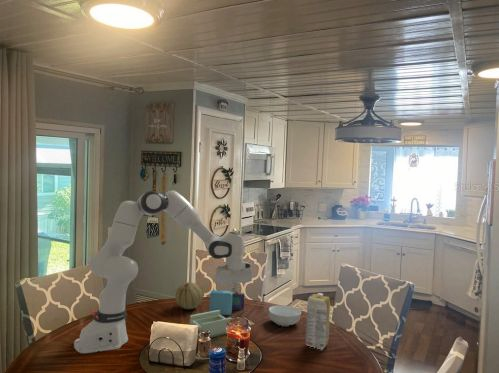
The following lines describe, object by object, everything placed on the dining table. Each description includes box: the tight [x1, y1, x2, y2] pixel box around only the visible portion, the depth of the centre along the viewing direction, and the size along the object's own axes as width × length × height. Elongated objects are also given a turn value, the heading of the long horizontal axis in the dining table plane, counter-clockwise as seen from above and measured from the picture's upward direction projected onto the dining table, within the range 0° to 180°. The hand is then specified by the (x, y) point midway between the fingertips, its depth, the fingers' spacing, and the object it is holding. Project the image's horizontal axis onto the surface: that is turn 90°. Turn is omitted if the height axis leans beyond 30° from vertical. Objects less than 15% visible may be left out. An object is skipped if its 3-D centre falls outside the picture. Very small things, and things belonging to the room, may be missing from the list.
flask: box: [232, 289, 245, 311], centre depth 225 cm, size 9×3×11 cm, turn 91°
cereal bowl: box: [268, 304, 302, 327], centre depth 206 cm, size 17×17×7 cm
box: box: [189, 310, 233, 338], centre depth 193 cm, size 16×13×7 cm
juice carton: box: [305, 292, 331, 351], centre depth 181 cm, size 9×8×24 cm
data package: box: [208, 289, 233, 316], centre depth 217 cm, size 12×4×12 cm, turn 91°
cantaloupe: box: [175, 281, 203, 310], centre depth 222 cm, size 15×15×15 cm
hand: (232, 292), depth 199 cm, fingers closed
